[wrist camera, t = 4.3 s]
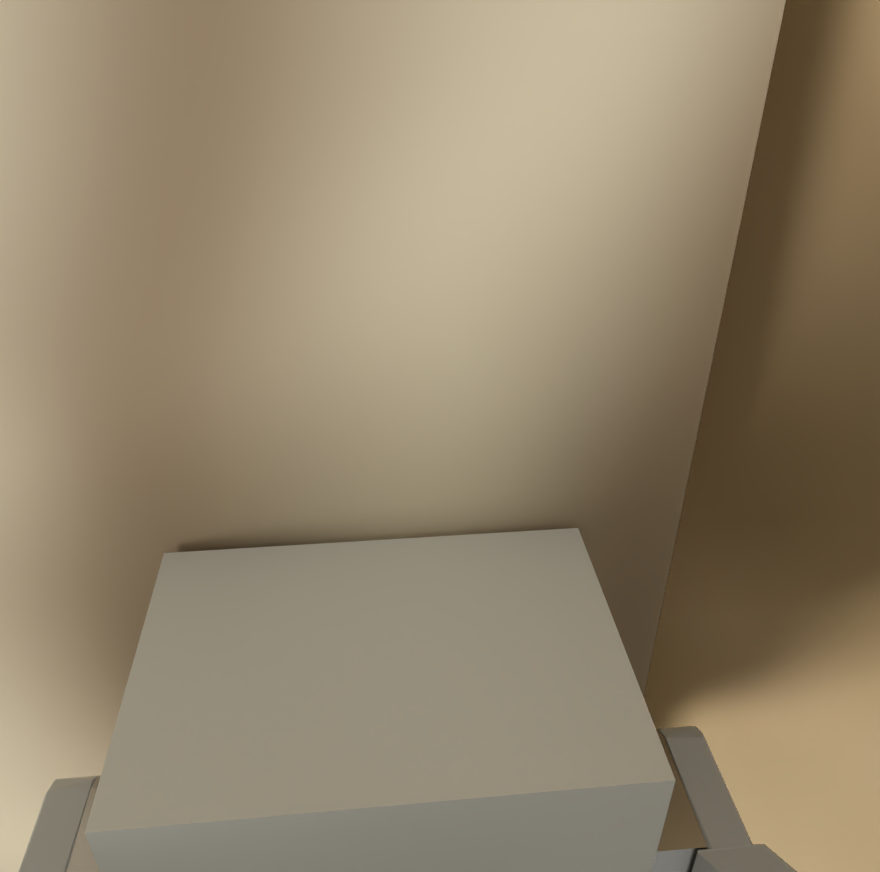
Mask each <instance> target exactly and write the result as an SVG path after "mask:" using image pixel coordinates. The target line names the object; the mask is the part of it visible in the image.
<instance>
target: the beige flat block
mask: <svg viewBox="0 0 880 872" xmlns="http://www.w3.org/2000/svg"><path fill="white" fill-rule="evenodd" d="M785 2H786V0H0V872H19V869H20V867H21V864H22V861H23V858H24V855H25V852H26V849H27V846H28V843H29V840H30V838H31V835H32V832H33V829H34V826H35V823H36V820H37V817H38V814H39V812H40V809H41V806H42V803H43V800H44V797H45V794H46V792H47V791H48V790H49V788H50V787H51V785H52V784H53V782H54V781H55V779H64V778H76V777H88V776H101V773H102V770H103V766H104V762H105V759H106V755H107V752H108V748H109V745H110V741H111V738H112V734H113V731H114V727H115V724H116V720H117V717H118V713H119V710H120V706H121V703H122V699H123V696H124V692H125V689H126V685H127V682H128V678H129V675H130V671H131V667H132V664H133V660H134V657H135V653H136V650H137V646H138V643H139V639H140V636H141V632H142V629H143V625H144V622H145V618H146V615H147V611H148V608H149V604H150V601H151V597H152V594H153V590H154V587H155V583H156V580H157V576H158V573H159V569H160V565H161V562H162V558H163V555H164V553H172V552H189V551H205V550H222V549H238V548H255V547H271V546H288V545H304V544H321V543H337V542H354V541H370V540H387V539H403V538H420V537H436V536H453V535H469V534H486V533H502V532H519V531H535V530H552V529H568V528H578V529H579V532H580V534H581V537H582V539H583V542H584V544H585V547H586V550H587V552H588V555H589V557H590V560H591V563H592V565H593V568H594V570H595V573H596V576H597V578H598V581H599V583H600V586H601V588H602V591H603V594H604V596H605V599H606V601H607V604H608V607H609V609H610V612H611V614H612V617H613V620H614V622H615V625H616V627H617V630H618V632H619V635H620V638H621V640H622V643H623V645H624V648H625V651H626V653H627V656H628V658H629V661H630V664H631V666H632V669H633V671H634V674H635V676H636V679H637V682H638V684H639V687H640V689H641V692H642V695H643V697H644V692H645V688H646V683H647V678H648V673H649V668H650V663H651V658H652V653H653V648H654V643H655V639H656V634H657V629H658V624H659V619H660V614H661V609H662V604H663V599H664V595H665V590H666V585H667V580H668V575H669V570H670V565H671V560H672V555H673V550H674V546H675V541H676V536H677V531H678V526H679V521H680V516H681V511H682V506H683V502H684V497H685V492H686V487H687V482H688V477H689V472H690V467H691V462H692V457H693V453H694V448H695V443H696V438H697V433H698V428H699V423H700V418H701V413H702V409H703V404H704V399H705V394H706V389H707V384H708V379H709V374H710V369H711V365H712V360H713V355H714V350H715V345H716V340H717V335H718V330H719V325H720V320H721V316H722V311H723V306H724V301H725V296H726V291H727V286H728V281H729V276H730V272H731V267H732V262H733V257H734V252H735V247H736V242H737V237H738V232H739V227H740V223H741V218H742V213H743V208H744V203H745V198H746V193H747V188H748V183H749V179H750V174H751V169H752V164H753V159H754V154H755V149H756V144H757V139H758V134H759V130H760V125H761V120H762V115H763V110H764V105H765V100H766V95H767V90H768V86H769V81H770V76H771V71H772V66H773V61H774V56H775V51H776V46H777V41H778V37H779V32H780V27H781V22H782V17H783V12H784V7H785Z"/></svg>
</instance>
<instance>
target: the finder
mask: <svg viewBox="0 0 880 872" xmlns="http://www.w3.org/2000/svg"><path fill="white" fill-rule="evenodd" d="M675 781H676V780H675V777H674V775H673V772H672V770H671V767H670V765H669V762H668V759H667V757H666V754H665V752H664V749H663V746H662V744H661V741H660V739H659V736H658V733H657V731H656V728H655V726H654V723H653V721H652V718H651V715H650V713H649V710H648V708H647V705H646V702H645V700H644V697H643V695H642V692H641V689H640V687H639V684H638V682H637V679H636V676H635V674H634V671H633V669H632V666H631V664H630V661H629V658H628V656H627V653H626V651H625V648H624V645H623V643H622V640H621V638H620V635H619V632H618V630H617V627H616V625H615V622H614V620H613V617H612V614H611V612H610V609H609V607H608V604H607V601H606V599H605V596H604V594H603V591H602V588H601V586H600V583H599V581H598V578H597V576H596V573H595V570H594V568H593V565H592V563H591V560H590V557H589V555H588V552H587V550H586V547H585V544H584V542H583V539H582V537H581V534H580V532H579V529H578V528H568V529H552V530H535V531H519V532H502V533H486V534H469V535H453V536H436V537H420V538H403V539H387V540H370V541H354V542H337V543H321V544H304V545H288V546H271V547H255V548H238V549H222V550H205V551H189V552H172V553H164V555H163V558H162V562H161V565H160V569H159V573H158V576H157V580H156V583H155V587H154V590H153V594H152V597H151V601H150V604H149V608H148V611H147V615H146V618H145V622H144V625H143V629H142V632H141V636H140V639H139V643H138V646H137V650H136V653H135V657H134V660H133V664H132V667H131V671H130V675H129V678H128V682H127V685H126V689H125V692H124V696H123V699H122V703H121V706H120V710H119V713H118V717H117V720H116V724H115V727H114V731H113V734H112V738H111V741H110V745H109V748H108V752H107V755H106V759H105V762H104V766H103V770H102V773H101V777H100V780H99V784H98V787H97V791H96V794H95V798H94V801H93V805H92V808H91V812H90V815H89V819H88V822H87V826H86V829H85V836H86V838H87V841H88V843H89V846H90V848H91V851H92V853H93V856H94V858H95V861H96V863H97V866H98V868H99V871H100V872H652V868H653V864H654V860H655V857H656V853H657V849H658V845H659V841H660V838H661V834H662V830H663V826H664V822H665V819H666V815H667V811H668V807H669V803H670V800H671V796H672V792H673V788H674V784H675Z"/></svg>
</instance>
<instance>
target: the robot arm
mask: <svg viewBox="0 0 880 872" xmlns="http://www.w3.org/2000/svg"><path fill="white" fill-rule="evenodd" d="M656 731H657V733H658V736H659V739H660V741H661V744H662V746H663V749H664V752H665V754H666V757H667V759H668V762H669V765H670V767H671V770H672V772H673V775H674V777H675V780H676V781H675V784H674V788H673V792H672V796H671V800H670V803H669V807H668V811H667V815H666V819H665V822H664V826H663V830H662V834H661V838H660V841H659V845H658V849H657V853H656V857H655V860H654V864H653V868H652V872H797V871H796V870H794V869H793V868H792V867H791V866H790V865H788V864H787V863H786V862H785V861H784V860H783V859H781V858H780V857H779V856H778V855H777V854H776V853H774V852H773V851H772V850H771V849H770V848H768V847H767V846H766V845H765V844H752V842H751V840H750V837H749V835H748V833H747V831H746V828H745V826H744V824H743V822H742V820H741V817H740V815H739V813H738V811H737V808H736V806H735V804H734V802H733V800H732V797H731V795H730V793H729V791H728V788H727V786H726V784H725V782H724V780H723V777H722V775H721V773H720V771H719V768H718V766H717V764H716V762H715V760H714V757H713V755H712V753H711V751H710V748H709V746H708V744H707V742H706V740H705V737H704V735H703V733H702V732H701V731H700V730H699V729H698V728H697V727H695V726H686V727H677V728H668V729H658V730H656ZM100 777H101V776H88V777H76V778H64V779H55V781H54V782H53V784H52V785H51V787H50V788H49V790H48V791H47V792H46V794H45V797H44V800H43V803H42V806H41V809H40V812H39V814H38V817H37V820H36V823H35V826H34V829H33V832H32V835H31V838H30V840H29V843H28V846H27V849H26V852H25V855H24V858H23V861H22V864H21V867H20V869H19V872H100V871H99V868H98V866H97V863H96V861H95V858H94V856H93V853H92V851H91V848H90V846H89V843H88V841H87V838H86V836H85V829H86V826H87V822H88V819H89V815H90V812H91V808H92V805H93V801H94V798H95V794H96V791H97V787H98V784H99V780H100Z"/></svg>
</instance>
